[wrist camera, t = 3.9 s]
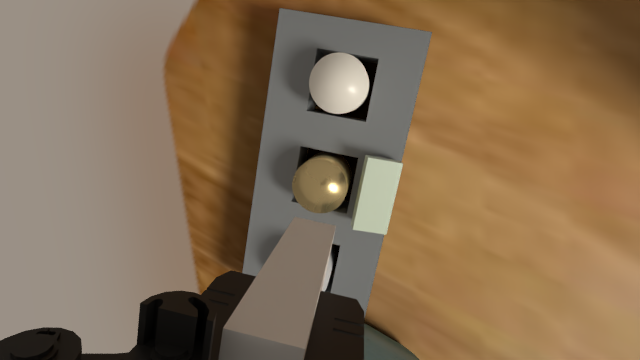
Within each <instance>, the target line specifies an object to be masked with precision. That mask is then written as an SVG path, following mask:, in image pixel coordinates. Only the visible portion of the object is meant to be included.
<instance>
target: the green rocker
mask: <svg viewBox="0 0 640 360" xmlns="http://www.w3.org/2000/svg"><path fill="white" fill-rule="evenodd" d="M402 166H403V163H402V162H400V161H398V160H393V159H388V158H386V157H382V156H376V157H375V156H369V155H365V160H364V164H363V169H362V174H361V178H360V183H359V188H358V193H357V197H356V202H355V207H354V212H353V216H352V221H351V226H352V229H353V230H359V231H365V232H372V233H378V234H385V235H386V234H387V229H388V225H389V221H390V217H391V213H392V208H393V204H394V200H395V196H396V192H397V187H398V183H399V179H400V175H401V170H402Z"/></svg>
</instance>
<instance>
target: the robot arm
mask: <svg viewBox="0 0 640 360" xmlns="http://www.w3.org/2000/svg"><path fill="white" fill-rule="evenodd" d="M335 229H336V226H334V225H329V224H325V223H321V222H316V221H312V220H307V219H303V218H298V217H294V219H293V220H292V222H291V223H290V225H289V226H288V228H287V230H286V231H285V233H284V234H283V236H282V237H281V239H280V240H279V242H278V244H277V245H276V247H275V248H274V250H273V251H272V253H271V254H270V256H269V258H268V259H267V261H266V262H265V264H264V265H263V267H262V268H261V270H260V271H259V273H258V275H257V276H252V275H248V274H244V273H240V272H236V271H229V272H227V273H225V274H223V275H221V276H218V277H216V279H215V280H214V281H213V282H212V283H211V284H210V285H209V287H208V288H207V290H205V291H204V292H203V293H202V295H199V294H197V293H193V292H186V291H172V292H164V293H161V294H157V295H154V296H151V297H149V298H148V299H146V300H145V301H143V302H141V303H140V313H139V325H138V326H139V327H138V336H137V345H136V346H135V347H134V348H133V349H132V350H131V351H130V352H129V353H119V354H81V353H82V346H81V339H80V337H78V336H77V335H76V334H75V333H74V332H73V331H69V330H66V329H62V328H39V329H33V330H28V331H24V332H21V333H18V334H16V335H13V336H10V337H7V338H5V339H3V340H1V341H0V360H364V310H363V309H362V307H361V305H360V304H359V302H358V300H357V299H354V298H350V297H345V296H341V295H337V294H333V293H329V292H325V291H322V290H323V285H324V281H325V276H326V271H327V266H328V262H329V257H330V252H331V248H332V243H333V238H334V233H335Z"/></svg>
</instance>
